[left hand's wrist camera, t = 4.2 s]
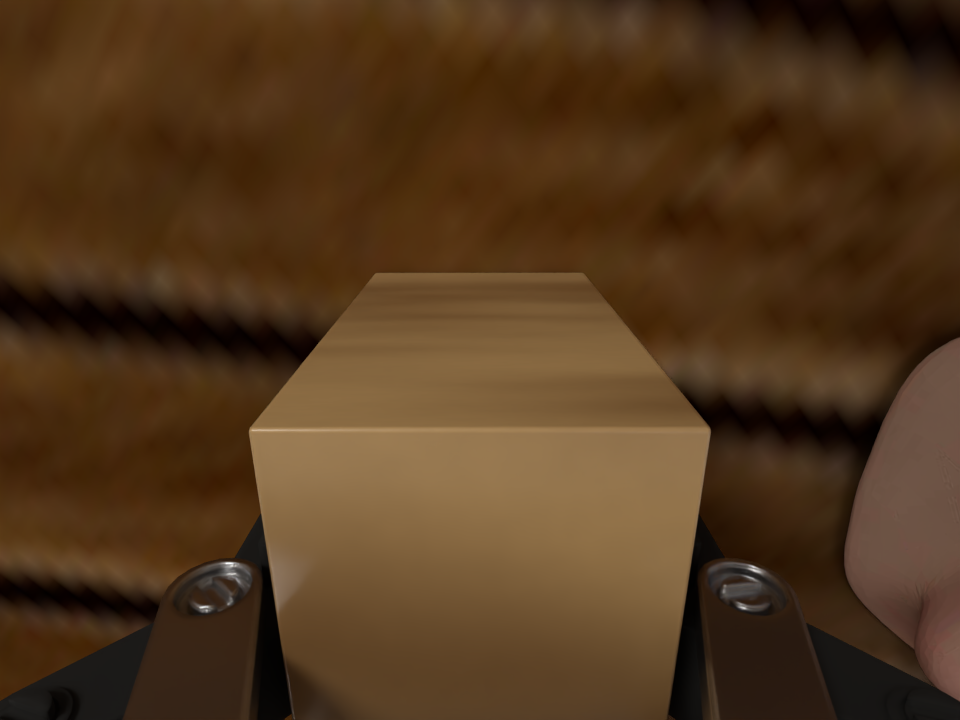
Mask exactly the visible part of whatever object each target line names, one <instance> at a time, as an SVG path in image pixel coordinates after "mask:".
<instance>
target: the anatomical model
mask: <svg viewBox="0 0 960 720" xmlns="http://www.w3.org/2000/svg"><path fill="white" fill-rule="evenodd" d="M844 567H845V572H846V576H847V579H848V582H849V584H850V586H851V588H852V590H853V591H854V593H855V594H856V595H857V597H858V598H859V599H860V600H861V602H862V603H863V604H864V605H865V606H866V607H867V608H868V609H869V610H870V611H871V612H872V613H873V614H874V615H875V616H876V617H877V618H878V619H879V620H880V621H881V622H882V623H883V624H884V625H886V626H887V627H888V628H889V629H890V630H891V631H893V632H894V633H895V634H896V635H897V636H898V637H900V638H901V639H902V640H903V641H904V642H905V643H907V644H908V645H909V646H911V647H912V648H913V649H914V650H915V655H916V658H917V660H918V662H919V665H920V667H921V669H922V670H923V672H924V673H925V675H926V676H927V677H928V679H929V680H930V681H931V682H932V683H933V684H934V685H935V686H936V687H937V688H938V689H939V690H941V691H943V692H945V693H946V694H948V695H950V696H951V697H953V698H955V699H957V700H958V701H960V337H959V338H956V339H954V340H951V341H950V342H948V343H946V344H945V345H943V346H941V347H940V348H938V349H936V350H935V351H933V352H932V353H931V354H929V355H928V356H927V357H926V358H925V359H924V360H923V361H922V362H921V363H920V364H918V365H917V367H916V368H915V369H914V370H913V371H912V373H911V374H910V375H909V376H908V378H907V379H906V381H905V382H904V384H903V385H902V386H901V388H900V389H899V391H898V393H897V395H896V397H895V399H894V401H893V403H892V405H891V407H890V408H889V410H888V412H887V414H886V416H885V418H884V420H883V422H882V425H881V428H880V430H879V433H878V435H877V438H876V440H875V443H874V445H873V448H872V451H871V453H870V456H869V458H868V461H867V463H866V466H865V469H864V471H863V474H862V476H861V479H860V481H859V484H858V488H857V492H856V495H855V499H854V503H853V507H852V512H851V517H850V522H849V527H848V532H847V537H846V542H845V548H844Z"/></svg>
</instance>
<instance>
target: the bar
mask: <svg viewBox="0 0 960 720" xmlns="http://www.w3.org/2000/svg"><path fill="white" fill-rule="evenodd" d="M710 434H711V430H710V427H709V426H708V425H707V423H706V422H705V421H704V420H703V418H702V417H701V416H700V415H699V414H698V412H697V411H696V410H695V409H694V407H693V406H692V405H691V404H690V403H689V401H688V400H687V399H686V398H685V396H684V395H683V394H682V393H681V392H680V390H679V389H678V388H677V387H676V385H675V384H674V383H673V382H672V381H671V379H670V378H669V377H668V376H667V374H666V373H665V372H664V371H663V370H662V368H661V367H660V366H659V365H658V363H657V362H656V361H655V360H654V359H653V357H652V356H651V355H650V354H649V352H648V351H647V350H646V349H645V348H644V346H643V345H642V344H641V343H640V341H639V340H638V339H637V338H636V336H635V335H634V334H633V333H632V332H631V330H630V329H629V328H628V327H627V325H626V324H625V323H624V322H623V321H622V319H621V318H620V317H619V316H618V314H617V313H616V312H615V311H614V310H613V308H612V307H611V306H610V305H609V303H608V302H607V301H606V300H605V299H604V297H603V296H602V295H601V294H600V292H599V291H598V290H597V289H596V288H595V286H594V285H593V284H592V283H591V281H590V280H589V279H588V278H587V277H586V275H585V274H584V273H376V274H375V275H374V276H373V277H372V278H371V279H370V281H369V282H368V283H367V284H366V286H365V287H364V288H363V289H362V291H361V292H360V293H359V294H358V295H357V297H356V298H355V299H354V300H353V302H352V303H351V304H350V305H349V307H348V308H347V309H346V310H345V311H344V313H343V314H342V315H341V316H340V318H339V319H338V320H337V321H336V323H335V324H334V325H333V326H332V327H331V329H330V330H329V331H328V332H327V334H326V335H325V336H324V337H323V339H322V340H321V341H320V342H319V343H318V345H317V346H316V347H315V348H314V350H313V351H312V352H311V353H310V355H309V356H308V357H307V358H306V359H305V361H304V362H303V363H302V364H301V366H300V367H299V368H298V369H297V371H296V372H295V373H294V374H293V375H292V377H291V378H290V379H289V380H288V382H287V383H286V384H285V385H284V387H283V388H282V389H281V390H280V392H279V393H278V394H277V395H276V396H275V398H274V399H273V400H272V401H271V403H270V404H269V405H268V406H267V408H266V409H265V410H264V411H263V412H262V414H261V415H260V416H259V417H258V419H257V420H256V421H255V422H254V424H253V425H252V426H251V427H250V430H249V436H250V442H251V449H252V455H253V462H254V469H255V475H256V482H257V488H258V495H259V502H260V508H261V515H262V521H263V528H264V534H265V541H266V548H267V554H268V561H269V567H270V574H271V581H272V587H273V594H274V600H275V607H276V614H277V620H278V627H279V633H280V640H281V646H282V653H283V660H284V666H285V673H286V679H287V686H288V693H289V699H290V706H291V712H292V719H293V720H668V713H669V706H670V700H671V693H672V687H673V680H674V673H675V667H676V660H677V653H678V647H679V640H680V633H681V627H682V620H683V614H684V607H685V600H686V594H687V587H688V580H689V574H690V567H691V560H692V554H693V547H694V540H695V534H696V527H697V521H698V514H699V507H700V501H701V494H702V487H703V481H704V474H705V467H706V461H707V454H708V448H709V441H710Z"/></svg>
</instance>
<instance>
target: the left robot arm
mask: <svg viewBox="0 0 960 720" xmlns="http://www.w3.org/2000/svg"><path fill="white" fill-rule="evenodd" d="M290 714H292V712H291V706H290V699H289V693H288V686H287V679H286V673H285V666H284V660H283V653H282V646H281V640H280V633H279V627H278V620H277V614H276V607H275V600H274V594H273V587H272V581H271V574H270V567H269V561H268V554H267V548H266V541H265V534H264V528H263V521H262V515H261V514H260V516H259V518H258V519H257V521H256V523H255V524H254V526H253V528H252V529H251V531H250V533H249V535H248V536H247V538H246V540H245V541H244V543H243V545H242V546H241V548H240V550H239V551H238V553H237V555H236V556H235V558H224V559H217V560H213V561H209V562H205V563H203V564H201V565H198V566H196V567H194V568H191V569H190V570H188V571H187V572H185V573H184V574H182V575H180V576H179V577H178V578H177V579H176V580H175V581H174V582H173V583H172V584H171V585H170V586H169V587H168V588H167V590H166V592H165V594H164V595H163V597H162V600H161V603H160V607H159V610H158V613H157V616H156V619H155V622H154V623H152V624H150V625H148V626H146V627H144V628H142V629H140V630H138V631H136V632H134V633H132V634H130V635H128V636H126V637H124V638H122V639H120V640H118V641H116V642H114V643H112V644H110V645H108V646H106V647H104V648H102V649H100V650H98V651H97V652H95V653H93V654H91V655H89V656H87V657H85V658H83V659H81V660H79V661H77V662H75V663H73V664H71V665H69V666H67V667H65V668H63V669H61V670H59V671H57V672H55V673H53V674H51V675H49V676H47V677H45V678H43V679H41V680H39V681H37V682H35V683H33V684H31V685H29V686H27V687H25V688H23V689H21V690H19V691H17V692H15V693H13V694H11V695H10V696H8V697H6V698H5V699H3V700H1V701H0V720H285V718H286V717H287V716H289V715H290ZM668 714H669V715H670V716H672V717H673V718H675V720H960V701H958V700H957V699H955V698H953V697H951V696H950V695H948V694H946V693H945V692H943V691H941V690H939V689H937V688H935V687H933V686H931V685H929V684H927V683H925V682H923V681H921V680H919V679H917V678H915V677H913V676H911V675H909V674H907V673H905V672H903V671H901V670H899V669H897V668H895V667H893V666H891V665H889V664H887V663H885V662H883V661H881V660H879V659H877V658H875V657H873V656H871V655H869V654H867V653H865V652H863V651H861V650H859V649H857V648H855V647H853V646H851V645H849V644H847V643H845V642H843V641H841V640H839V639H837V638H835V637H833V636H831V635H829V634H827V633H825V632H823V631H821V630H819V629H817V628H815V627H813V626H811V625H809V624H807V623H806V622H805V619H804V616H803V613H802V610H801V607H800V603H799V600H798V597H797V595H796V594H795V592H794V590H793V588H792V587H791V586H790V585H789V584H788V583H787V582H786V581H785V580H784V579H783V578H782V577H781V576H780V575H778V574H776V573H775V572H773V571H772V570H770V569H769V568H766V567H764V566H762V565H759V564H757V563H755V562H751V561H747V560H743V559H736V558H725V557H724V556H723V554H722V552H721V551H720V549H719V547H718V546H717V544H716V542H715V541H714V539H713V537H712V536H711V534H710V532H709V530H708V529H707V527H706V525H705V524H704V522H703V520H702V519H701V517H700V515H699V514H698V521H697V527H696V534H695V540H694V547H693V554H692V560H691V567H690V574H689V580H688V587H687V594H686V600H685V607H684V614H683V620H682V627H681V633H680V640H679V647H678V653H677V660H676V667H675V673H674V680H673V687H672V693H671V700H670V706H669V713H668Z"/></svg>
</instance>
